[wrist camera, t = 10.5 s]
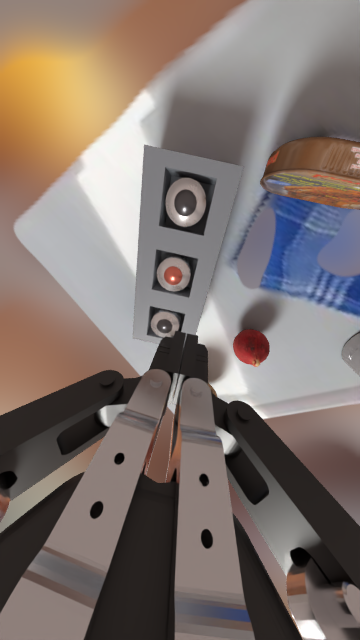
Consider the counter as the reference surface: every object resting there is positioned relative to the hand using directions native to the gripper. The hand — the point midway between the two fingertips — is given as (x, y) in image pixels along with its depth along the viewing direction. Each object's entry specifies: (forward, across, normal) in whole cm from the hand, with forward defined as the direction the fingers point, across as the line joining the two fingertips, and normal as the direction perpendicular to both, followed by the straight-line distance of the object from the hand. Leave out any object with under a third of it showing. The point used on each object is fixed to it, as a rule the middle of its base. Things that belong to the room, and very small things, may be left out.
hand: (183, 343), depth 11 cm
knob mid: (+17, +3, -1) cm, 18 cm away
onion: (+20, -12, +10) cm, 25 cm away
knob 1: (+17, +3, +7) cm, 19 cm away
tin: (+20, -12, -13) cm, 27 cm away
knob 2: (+17, +3, -9) cm, 19 cm away
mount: (+20, +3, -1) cm, 20 cm away
